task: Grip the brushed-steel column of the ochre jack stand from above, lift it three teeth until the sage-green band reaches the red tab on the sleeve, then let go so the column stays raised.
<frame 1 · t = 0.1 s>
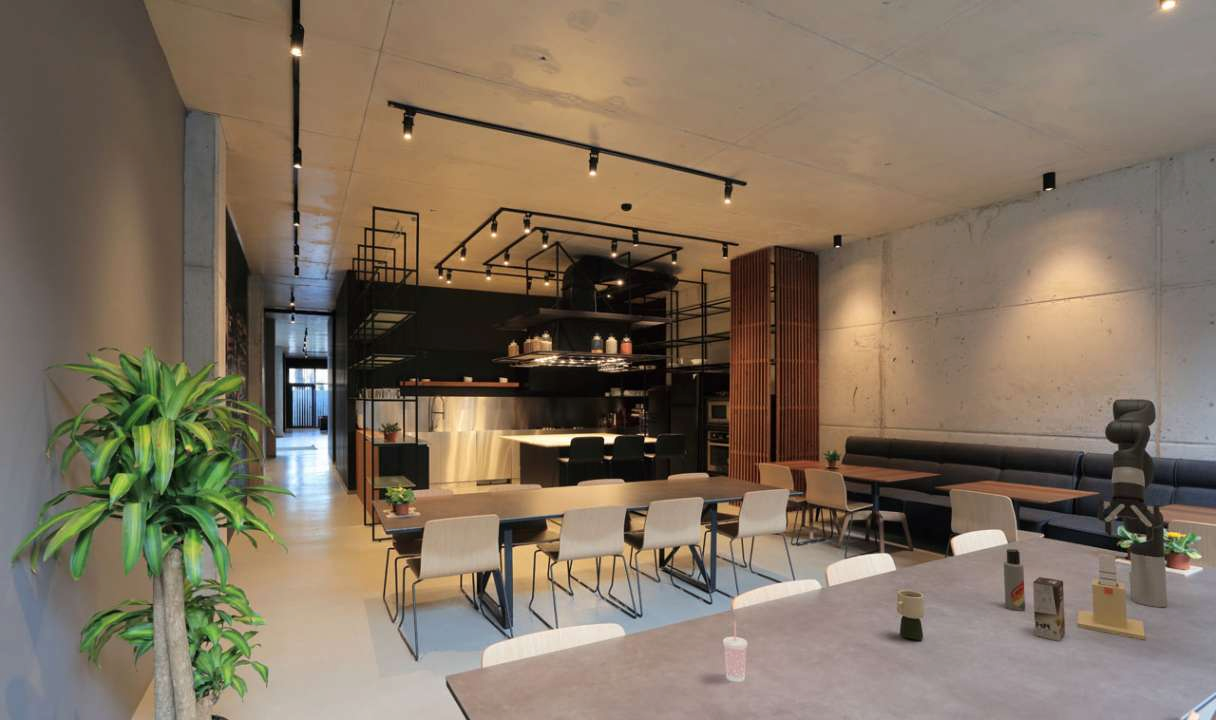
hand: (1128, 538, 176), 31 cm above the table, tool tilted 20°, fingers open, 8 cm apart
character mug: (911, 638, 179), on the table
beverage cup: (735, 678, 152), on the table
lotion bottle: (1015, 608, 206), on the table
coffee box: (1050, 635, 182), on the table
column: (1108, 587, 191), point 12 cm above the table, slide at 0.0 cm
jack stand: (1110, 626, 190), on the table
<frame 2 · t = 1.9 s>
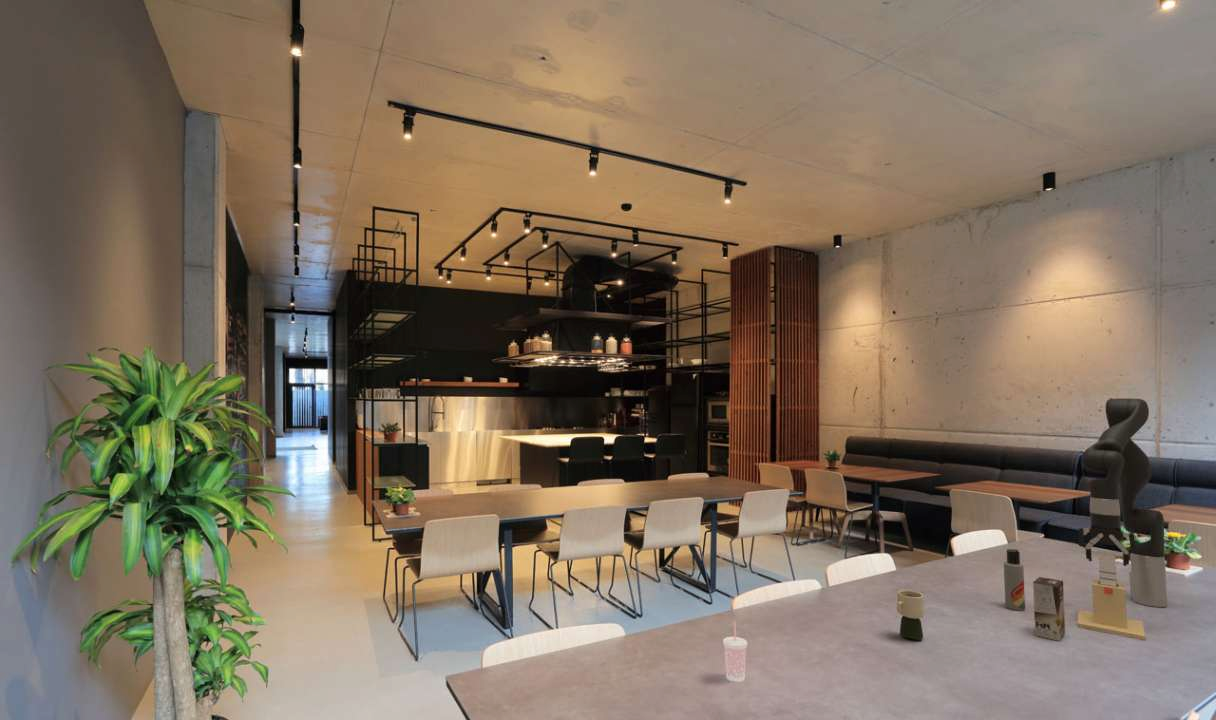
hand: (1107, 563, 191), 20 cm above the table, tool pointing down, fingers open, 8 cm apart
nothing on the table moved.
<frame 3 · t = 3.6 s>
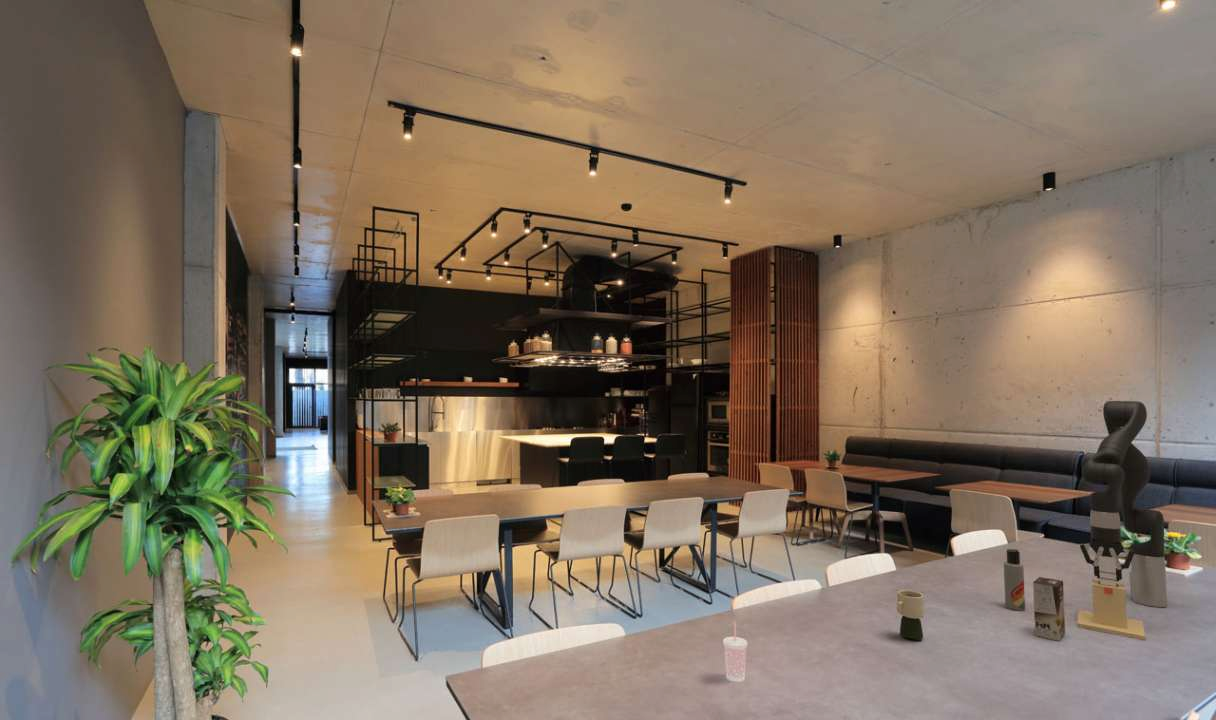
hand: (1107, 579, 191), 15 cm above the table, tool pointing down, fingers closed on column, 4 cm apart
column: (1108, 587, 191), point 12 cm above the table, slide at 0.0 cm, touching gripper
everything else where it was.
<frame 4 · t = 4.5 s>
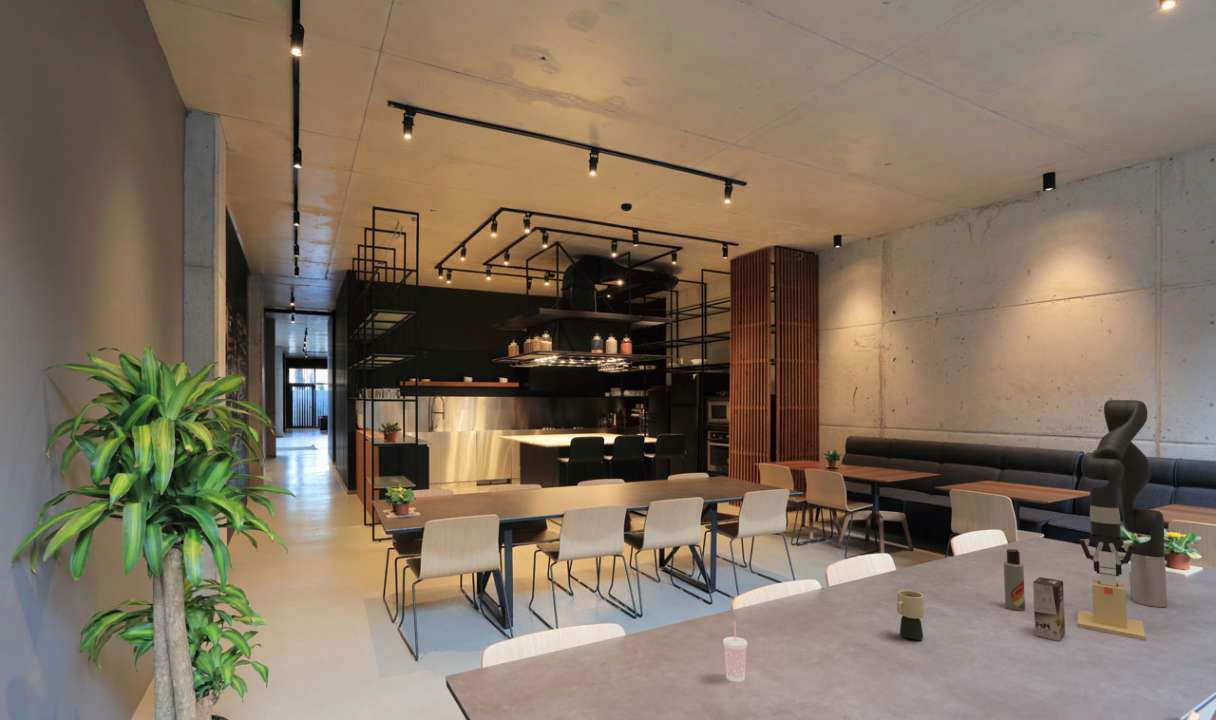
hand: (1107, 574, 191), 16 cm above the table, tool pointing down, fingers closed on column, 4 cm apart
column: (1108, 582, 191), point 14 cm above the table, slide at 1.5 cm, touching gripper
everything else where it was.
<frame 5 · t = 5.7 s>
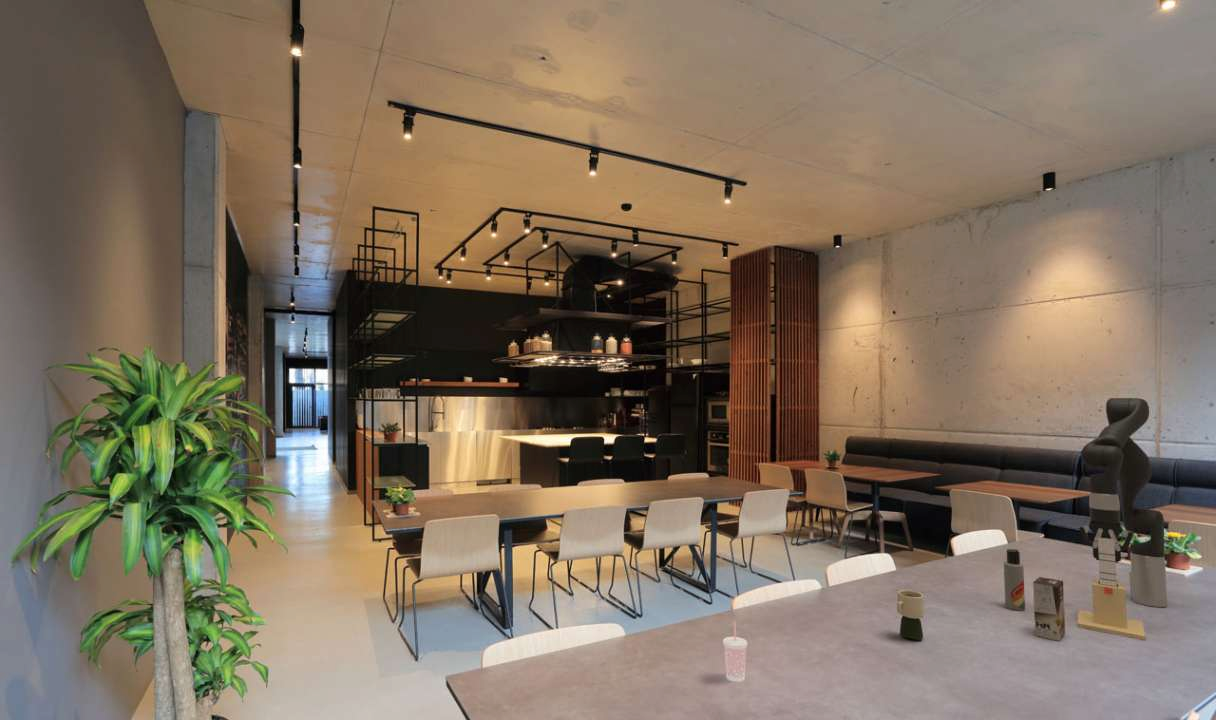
hand: (1107, 560, 191), 21 cm above the table, tool pointing down, fingers closed on column, 4 cm apart
column: (1107, 568, 191), point 18 cm above the table, slide at 5.8 cm, touching gripper
everything else where it was.
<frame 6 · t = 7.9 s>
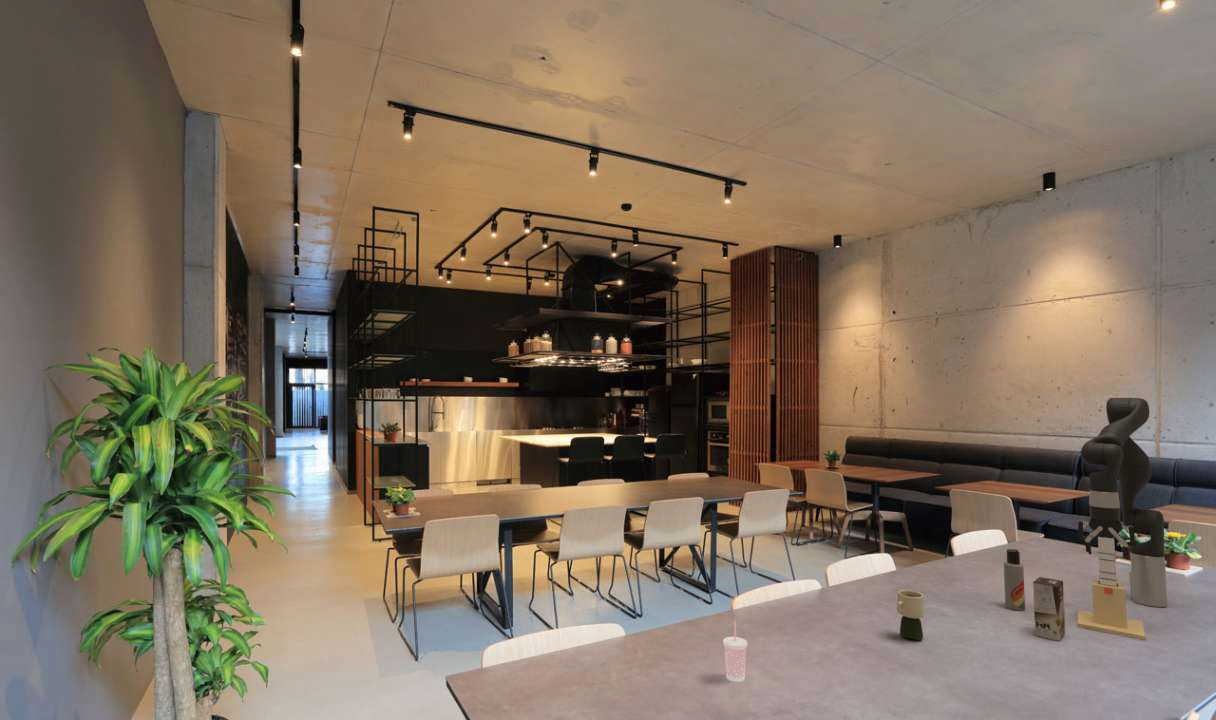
hand: (1106, 556, 191), 22 cm above the table, tool pointing down, fingers open, 8 cm apart
column: (1107, 568, 191), point 18 cm above the table, slide at 5.9 cm
everything else where it was.
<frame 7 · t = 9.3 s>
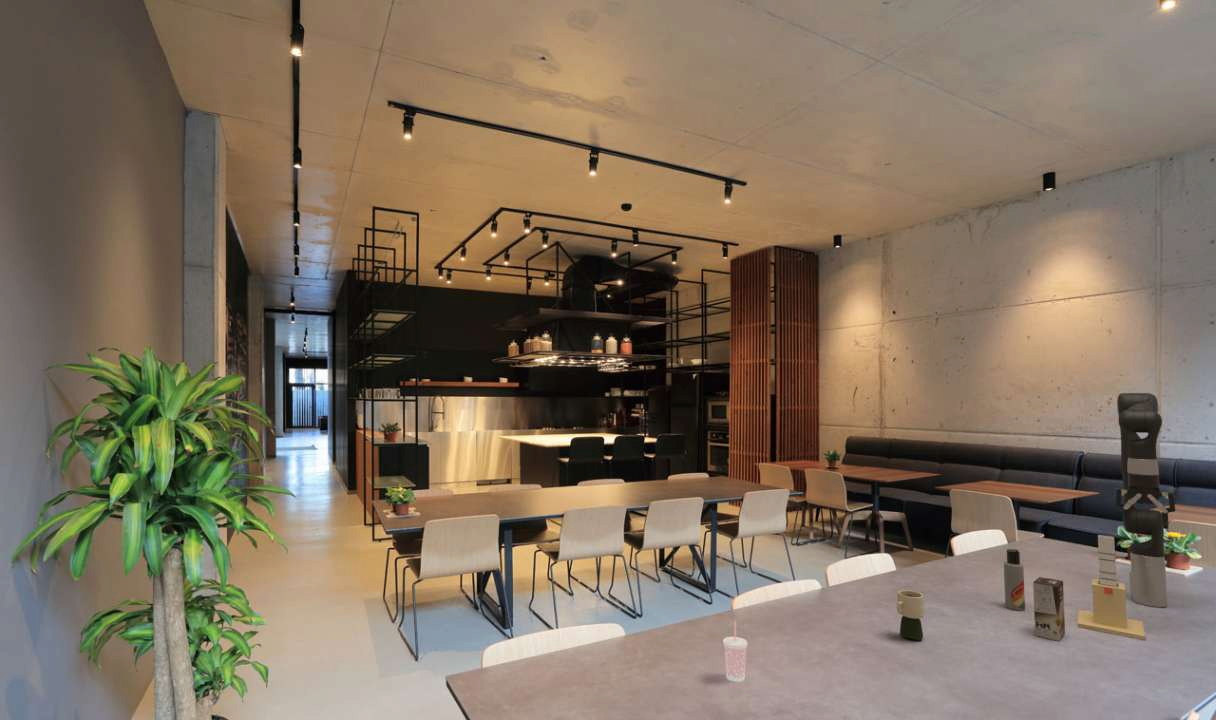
hand: (1145, 522, 192), 33 cm above the table, tool pointing down, fingers open, 8 cm apart
nothing on the table moved.
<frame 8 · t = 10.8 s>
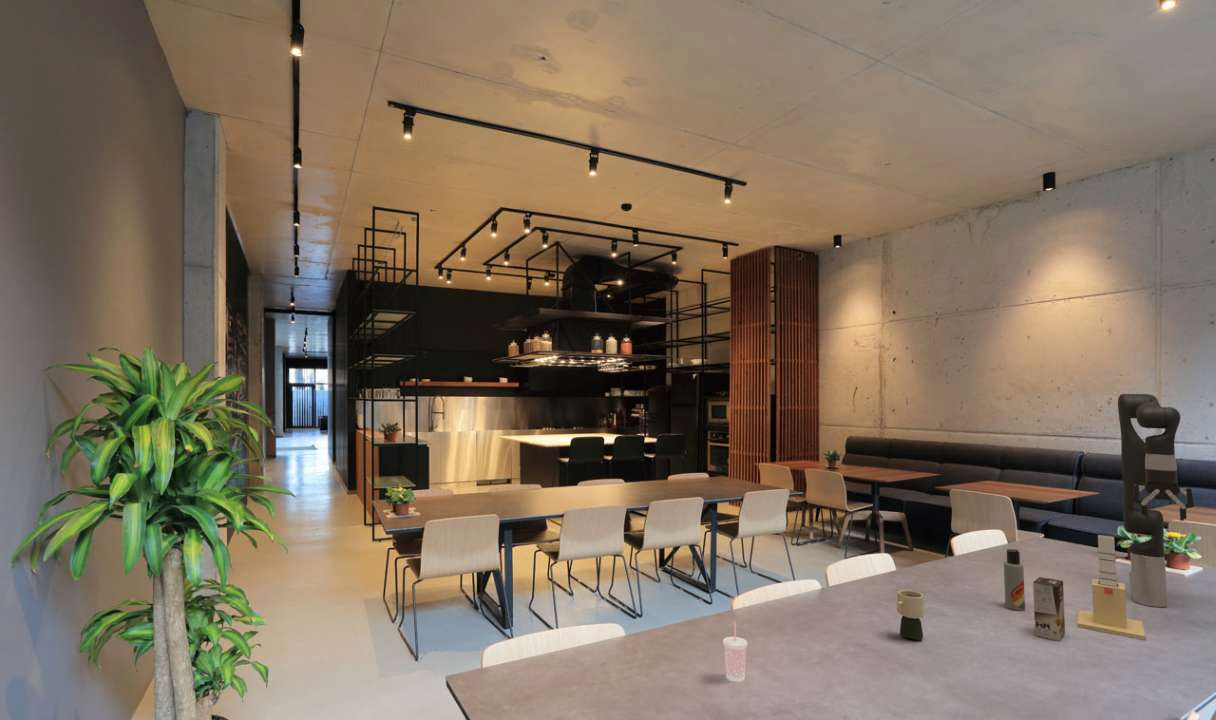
hand: (1163, 518, 192), 34 cm above the table, tool pointing down, fingers open, 8 cm apart
nothing on the table moved.
at the end: column slide at 5.9 cm; the gripper is holding nothing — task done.
